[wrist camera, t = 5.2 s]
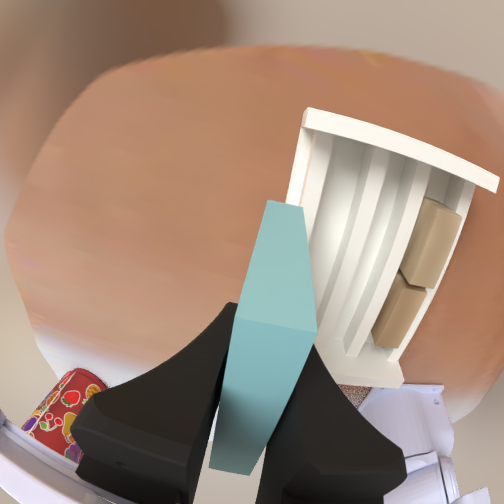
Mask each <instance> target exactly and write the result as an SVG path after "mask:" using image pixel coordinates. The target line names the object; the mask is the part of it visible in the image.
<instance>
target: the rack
mask: <svg viewBox="0 0 504 504" xmlns="http://www.w3.org/2000/svg"><path fill="white" fill-rule="evenodd" d="M499 179H500V178H499V177H497V176H496V175H494V174H492V173H490V172H488V171H486V170H484V169H482V168H480V167H478V166H476V165H474V164H472V163H470V162H468V161H466V160H464V159H462V158H459V157H457V156H455V155H453V154H451V153H448V152H446V151H444V150H441V149H439V148H437V147H434V146H432V145H429V144H427V143H424V142H422V141H419V140H417V139H414V138H411V137H409V136H406V135H403V134H400V133H397V132H395V131H392V130H389V129H386V128H383V127H380V126H376V125H373V124H370V123H367V122H363V121H360V120H357V119H353V118H349V117H346V116H342V115H338V114H335V113H331V112H327V111H322V110H318V109H314V108H309V107H308V108H307V109H306V110H305V111H304V113H303V118H302V123H301V128H300V133H299V139H298V144H297V148H296V153H295V158H294V163H293V168H292V173H291V178H290V183H289V187H288V192H287V197H286V202H285V203H286V204H291V205H296V206H300V207H303V212H304V219H305V226H306V233H307V240H308V248H309V256H310V264H311V273H312V282H313V291H314V300H315V310H316V321H317V332H318V333H317V335H316V338H315V340H314V345H315V347H316V349H317V351H318V353H319V355H320V357H321V359H322V361H323V363H324V364H325V366H326V368H327V369H328V371H329V373H330V374H331V376H332V378H333V379H334V381H335V382H336V384H343V385H353V386H364V387H378V388H396V389H399V387H400V386H401V385H402V383H403V382H404V378H403V374H402V371H401V368H400V365H399V362H398V359H399V358H400V356H401V354H402V353H403V351H404V350H405V348H406V346H407V345H408V343H409V341H410V339H411V338H412V336H413V334H414V332H415V331H416V329H417V327H418V325H419V323H420V322H421V320H422V318H423V316H424V314H425V312H426V310H427V308H428V306H429V304H430V302H431V300H432V298H433V296H434V294H435V292H436V290H437V288H438V286H439V284H440V281H441V279H442V277H443V275H444V273H445V270H446V268H447V266H448V263H449V261H450V258H451V256H452V254H453V251H454V249H455V246H456V243H457V241H458V238H459V236H460V233H461V230H462V227H463V224H464V222H465V219H466V216H467V213H468V210H469V206H470V203H471V200H472V197H473V193H474V190H475V186H476V184H477V185H479V186H481V187H483V188H485V189H487V190H490V191H492V192H494V193H496V190H497V186H498V183H499ZM424 196H425V197H428V198H431V199H434V200H437V201H439V202H441V203H442V204H444V205H445V206H447V207H448V208H450V209H451V210H453V211H454V212H456V213H457V214H459V215H460V216H462V217H463V218H462V221H461V224H460V227H459V230H458V232H457V235H456V238H455V240H454V243H453V246H452V248H451V251H450V253H449V256H448V258H447V260H446V263H445V265H444V268H443V270H442V272H441V274H440V277H439V279H438V281H437V283H436V285H435V288H434V289H431V288H426V287H424V288H425V290H426V291H427V295H426V297H425V299H424V301H423V303H422V305H421V307H420V309H419V311H418V313H417V315H416V317H415V319H414V321H413V322H412V324H411V326H410V328H409V330H408V332H407V333H406V335H405V337H404V339H403V341H402V342H401V344H400V346H399V347H398V349H397V348H388V347H380V346H375V344H374V341H373V337H372V334H371V329H372V327H373V325H374V323H375V321H376V319H377V316H378V314H379V312H380V310H381V308H382V306H383V303H384V301H385V299H386V297H387V294H388V292H389V290H390V288H391V285H392V283H393V281H394V278H395V276H396V273H397V271H398V268H399V266H400V263H401V261H402V258H403V256H404V253H405V250H406V248H407V245H408V242H409V239H410V237H411V234H412V231H413V228H414V225H415V222H416V219H417V216H418V213H419V210H420V207H421V203H422V200H423V197H424Z"/></svg>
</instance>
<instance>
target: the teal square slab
mask: <svg viewBox="0 0 504 504" xmlns="http://www.w3.org/2000/svg"><path fill="white" fill-rule="evenodd" d="M317 333H318V332H317V321H316V310H315V300H314V291H313V282H312V273H311V264H310V256H309V248H308V240H307V233H306V226H305V219H304V212H303V207H300V206H296V205H291V204H286V203H282V202H277V201H272V200H268V201H267V205H266V208H265V212H264V215H263V219H262V222H261V226H260V229H259V233H258V237H257V240H256V244H255V247H254V251H253V254H252V258H251V261H250V265H249V268H248V272H247V275H246V279H245V282H244V286H243V289H242V293H241V296H240V300H239V303H238V307H237V310H236V314H235V318H234V324H233V329H232V335H231V341H230V346H229V352H228V358H227V364H226V369H225V375H224V381H223V387H222V392H221V398H220V404H219V410H218V415H217V421H216V427H215V433H214V439H213V445H212V451H211V457H210V462H209V468H211V469H216V470H221V471H226V472H231V473H237V474H242V475H248V476H249V475H250V474H251V472H252V470H253V468H254V466H255V465H256V463H257V461H258V459H259V457H260V456H261V454H262V452H263V450H264V448H265V446H266V444H267V442H268V440H269V438H270V436H271V435H272V433H273V431H274V429H275V427H276V425H277V423H278V421H279V419H280V416H281V414H282V412H283V410H284V408H285V406H286V404H287V402H288V400H289V398H290V395H291V393H292V391H293V389H294V387H295V384H296V382H297V380H298V378H299V376H300V373H301V371H302V369H303V366H304V364H305V362H306V359H307V357H308V355H309V352H310V350H311V347H312V345H313V343H314V340H315V338H316V335H317Z"/></svg>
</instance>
